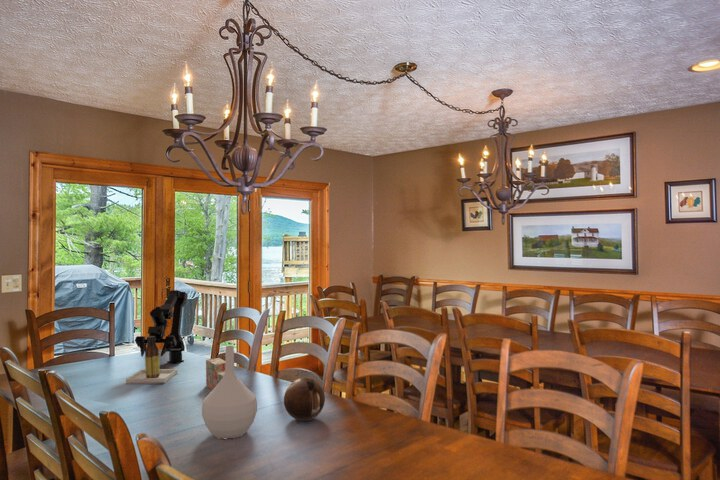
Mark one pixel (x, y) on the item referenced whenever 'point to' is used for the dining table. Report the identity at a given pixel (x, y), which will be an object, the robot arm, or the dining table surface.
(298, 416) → the wooden sphere
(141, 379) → the tray
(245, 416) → the vase
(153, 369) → the sauce bottle
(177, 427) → the dining table surface
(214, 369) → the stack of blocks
